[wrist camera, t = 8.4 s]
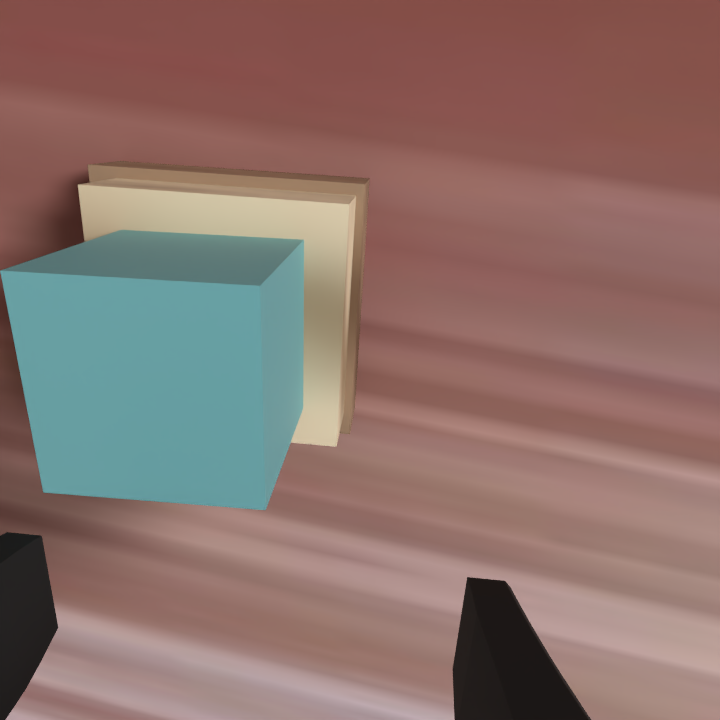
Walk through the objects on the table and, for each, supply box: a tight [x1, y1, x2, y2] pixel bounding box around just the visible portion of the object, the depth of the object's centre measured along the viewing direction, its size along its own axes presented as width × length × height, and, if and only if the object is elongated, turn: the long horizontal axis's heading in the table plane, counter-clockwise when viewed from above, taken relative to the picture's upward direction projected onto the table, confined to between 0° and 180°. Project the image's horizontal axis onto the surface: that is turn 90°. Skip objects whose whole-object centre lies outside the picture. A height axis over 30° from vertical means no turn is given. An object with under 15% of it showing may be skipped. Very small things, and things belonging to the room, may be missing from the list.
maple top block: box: [78, 178, 356, 447], centre depth 16 cm, size 6×6×2 cm
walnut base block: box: [88, 161, 370, 434], centre depth 18 cm, size 8×8×2 cm
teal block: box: [0, 230, 304, 510], centre depth 13 cm, size 4×4×4 cm
